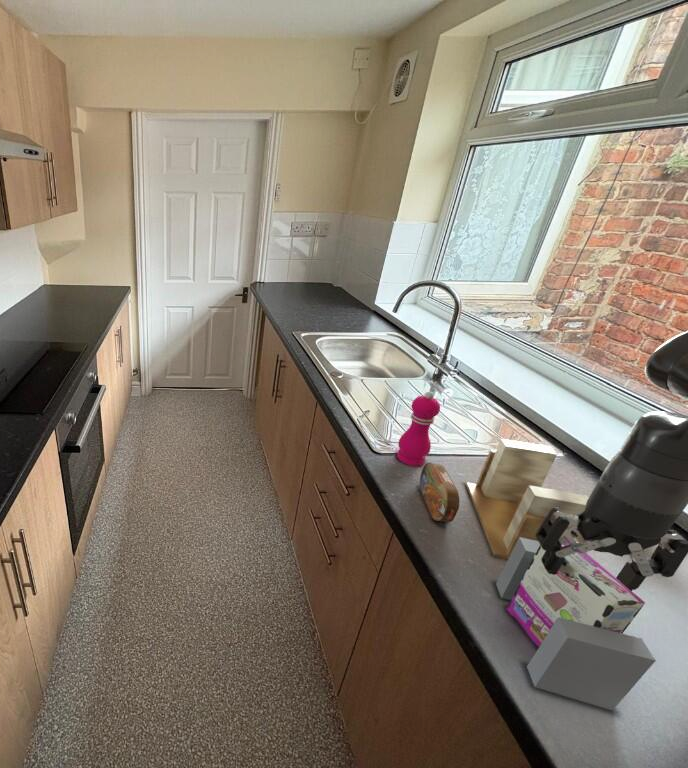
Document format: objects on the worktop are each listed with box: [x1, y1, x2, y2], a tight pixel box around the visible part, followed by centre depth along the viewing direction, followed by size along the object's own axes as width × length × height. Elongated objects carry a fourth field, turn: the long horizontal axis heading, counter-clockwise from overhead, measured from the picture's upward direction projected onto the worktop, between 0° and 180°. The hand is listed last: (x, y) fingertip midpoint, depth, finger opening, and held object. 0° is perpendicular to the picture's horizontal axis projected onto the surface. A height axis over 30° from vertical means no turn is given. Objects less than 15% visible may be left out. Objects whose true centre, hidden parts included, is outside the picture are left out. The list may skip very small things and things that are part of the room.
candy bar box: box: [506, 542, 646, 648], centre depth 63 cm, size 11×5×16 cm, turn 4°
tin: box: [419, 462, 460, 523], centre depth 91 cm, size 15×3×8 cm, turn 167°
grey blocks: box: [495, 537, 656, 711], centre depth 64 cm, size 9×18×12 cm, turn 160°
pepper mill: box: [396, 391, 441, 467], centre depth 104 cm, size 7×7×20 cm
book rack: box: [465, 438, 590, 560], centre depth 84 cm, size 14×22×15 cm, turn 160°
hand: (584, 578), depth 60 cm, fingers open, 8 cm apart
